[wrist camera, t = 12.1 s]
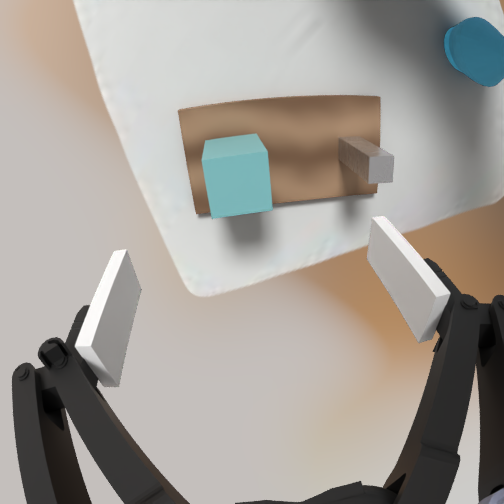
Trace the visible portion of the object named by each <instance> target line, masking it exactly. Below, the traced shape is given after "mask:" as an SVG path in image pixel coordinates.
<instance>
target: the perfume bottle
mask: <svg viewBox="0 0 504 504" xmlns="http://www.w3.org/2000/svg"><path fill="white" fill-rule="evenodd" d="M444 49H445V53H446V55H447V58H448V60H449V62H450V63H451V64H452V66H453V67H454V68H455V69H457V70H458V71H460V72H462V73H463V74H465V75H467V76H468V77H469V78H470V79H472V80H473V81H475V82H476V83H479V84H481V85H483V86H488V87H491V86H495V85H497V84H498V83H499V82H500V81H501V80H502V79H503V78H504V36H503V35H502V34H501V33H500V32H499V31H498V30H497V29H496V28H495V27H494V26H492V25H491V24H490V23H489V22H488V21H486V20H485V19H482V18H479V17H473V18H468V19H465V20H463V21H462V22H460V23H459V24H457V25H456V26H454V27H452V28H450V29H449V30H448V31H447V32H446V35H445V38H444Z"/></svg>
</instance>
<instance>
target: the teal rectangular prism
mask: <svg viewBox="0 0 504 504" xmlns="http://www.w3.org/2000/svg"><path fill="white" fill-rule="evenodd" d="M202 166H203V172H204V178H205V183H206V189H207V195H208V200H209V206H210V211H211V217H212V219H214V218H221V217H228V216H235V215H242V214H249V213H256V212H264V211H271V210H273V208H272V196H271V184H270V172H269V161H268V151H267V150H266V148H265V146H264V145H263V143H262V142H261V140H260V138H259V137H258V135H257V134H248V135H240V136H232V137H225V138H218V139H211V140H205V144H204V150H203V155H202Z"/></svg>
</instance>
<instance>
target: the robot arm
mask: <svg viewBox="0 0 504 504" xmlns="http://www.w3.org/2000/svg"><path fill="white" fill-rule="evenodd" d="M367 260H368V262H369V263H370V265H371V266H372V268H373V269H374V271H375V272H376V273H377V275H378V277H379V278H380V280H381V282H382V283H383V285H384V286H385V288H386V289H387V291H388V293H389V294H390V296H391V297H392V299H393V301H394V302H395V304H396V306H397V307H398V309H399V310H400V312H401V314H402V315H403V317H404V319H405V320H406V322H407V324H408V326H409V327H410V329H411V330H412V332H413V334H414V336H415V338H416V339H417V341H418V343H421V342H424V341H427V340H431V339H432V338H433V336H434V334H435V331H436V330H437V332H438V333H439V335H440V337H439V339H438V341H437V343H436V345H435V348H434V350H433V352H435V354H434V358H433V362H432V365H431V369H430V373H429V376H428V379H427V383H426V386H425V390H424V393H423V396H422V399H421V402H420V405H419V408H418V411H417V414H416V417H415V419H414V422H413V425H412V427H411V430H410V432H409V435H408V438H407V440H406V443H405V445H404V448H403V450H402V452H401V454H400V457H399V459H398V461H397V464H396V466H395V468H394V469H393V471H392V473H391V474H390V476H389V477H388V479H387V480H386V482H385V484H384V486H383V488H382V487H377V486H367V485H362V483H361V481H359V482H355V483H352V484H348V485H344V486H340V487H336V488H332V489H330V490H327V491H325V492H323V493H321V494H319V495H317V496H314V497H312V498H310V499H308V500H305V501H303V502H284V501H272V500H262V501H254V502H242V503H235V504H445V503H446V500H447V498H448V496H449V493H450V490H451V487H452V484H453V482H454V479H455V476H456V473H457V470H458V467H459V463H460V455H458V454H457V451H458V446H459V442H460V439H461V436H462V432H463V428H464V424H465V419H466V415H467V410H468V406H469V401H470V396H471V391H472V385H473V378H474V373H475V366H476V368H477V378H478V390H479V406H480V463H479V482H478V495H479V503H478V504H504V296H503V295H497V296H495V297H494V299H493V301H492V303H491V304H482V303H479V302H478V300H476V299H475V298H474V297H473V296H470V295H467V294H461V292H460V291H459V290H458V289H457V288H456V286H455V285H454V284H453V283H452V282H451V280H450V279H449V278H448V277H447V275H446V274H445V273H444V272H442V269H441V268H439V266H438V265H437V264H436V263H435V262H433V261H432V260H430V259H429V258H427V259H422V258H421V256H420V255H419V254H418V253H417V252H416V251H415V249H414V248H413V247H412V246H411V245H410V244H409V243H408V242H407V240H406V239H405V238H404V237H403V236H402V235H401V234H400V233H399V232H398V230H397V229H396V228H395V227H394V226H393V225H392V224H391V223H390V222H389V221H388V220H387V219H386V218H385V216H378V217H372V220H371V229H370V238H369V246H368V254H367ZM141 290H142V289H141V287H140V284H139V281H138V279H137V276H136V273H135V271H134V268H133V265H132V262H131V260H130V257H129V254H128V251H127V250H119V251H114V253H113V255H112V257H111V259H110V261H109V263H108V266H107V268H106V270H105V272H104V274H103V277H102V279H101V281H100V284H99V286H98V288H97V291H96V293H95V295H94V298H93V300H92V303H91V305H86V306H83V307H82V308H81V310H80V311H79V312H78V313H77V315H76V318H75V320H74V323H73V325H72V327H71V330H70V332H69V335H68V338H67V340H66V342H65V343H64V342H63V341H62V340H61V339H60V338H57V337H55V338H51V339H49V340H46V341H45V342H44V343H43V344H42V345H41V347H40V348H39V351H38V357H39V359H40V360H41V362H42V363H43V364H44V365H45V367H42V368H38V369H35V368H34V367H33V365H31V364H30V363H23V364H21V365H20V366H18V367H17V368H16V369H15V371H14V373H13V376H12V399H13V417H14V429H15V438H16V447H17V454H18V461H19V467H20V472H21V478H22V483H23V488H24V493H25V497H26V501H27V504H92V503H91V500H90V497H89V495H88V492H87V489H86V486H85V483H84V480H83V477H82V473H81V470H80V467H79V464H78V460H77V457H76V453H75V449H74V446H73V442H72V438H71V434H70V429H69V425H68V420H67V416H66V411H65V408H66V410H67V412H68V414H69V416H70V418H71V420H72V422H73V424H74V426H75V427H76V429H77V431H78V433H79V435H80V436H81V438H82V440H83V442H84V443H85V445H86V447H87V449H88V450H89V452H90V454H91V455H92V457H93V458H94V460H95V462H96V463H97V465H98V466H99V468H100V469H101V471H102V473H103V474H104V476H105V477H106V479H107V480H108V482H109V483H110V484H111V486H112V487H113V489H114V490H115V491H116V493H117V494H118V496H119V497H120V498H121V500H122V501H123V502H124V504H190V503H189V502H188V501H187V500H185V499H184V498H183V496H182V495H181V494H180V493H179V492H178V491H177V490H176V489H175V488H174V487H173V486H172V485H171V484H170V483H169V481H168V480H167V479H166V478H165V477H164V476H163V475H162V474H161V473H160V471H159V470H158V469H157V468H156V467H155V465H153V463H152V462H151V461H150V460H149V458H148V457H147V456H146V455H145V453H144V452H143V451H142V450H141V448H140V447H139V446H138V445H137V444H136V442H135V441H134V439H133V438H132V437H131V435H130V434H129V433H128V431H127V430H126V429H125V428H124V426H123V425H122V423H121V422H120V420H119V419H118V418H117V416H116V415H115V413H114V412H113V410H112V409H111V407H110V406H109V404H108V403H107V401H106V400H105V398H104V397H103V395H102V394H101V392H100V391H99V389H98V388H97V387H96V386H97V382H98V380H99V381H100V382H101V384H102V385H103V386H104V387H119V384H120V379H121V373H122V369H123V364H124V359H125V355H126V350H127V346H128V342H129V337H130V333H131V329H132V325H133V321H134V317H135V313H136V309H137V305H138V301H139V297H140V293H141Z"/></svg>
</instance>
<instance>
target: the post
mask: <svg viewBox="0 0 504 504" xmlns="http://www.w3.org/2000/svg"><path fill="white" fill-rule="evenodd" d="M338 159H339V160H340V161H342V162H343V163H344V164H345V165H346V166H348V167H349V168H350V169H351V170H352V171H354V172H355V173H356V174H357V175H358V176H360V177H361V178H362V179H363V180H364V181H366V182H367V183H368V184H374V183H388V182H392V180H393V167H394V156H393V155H392V154H390V153H388V152H387V151H385V150H383V149H381V148H380V147H378V146H376V145H374V144H373V143H371V142H369V141H367V140H365V139H363V138H362V137H360V136H354V137H338Z"/></svg>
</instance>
